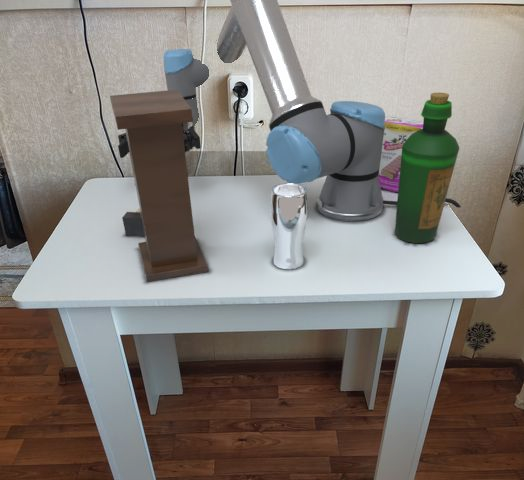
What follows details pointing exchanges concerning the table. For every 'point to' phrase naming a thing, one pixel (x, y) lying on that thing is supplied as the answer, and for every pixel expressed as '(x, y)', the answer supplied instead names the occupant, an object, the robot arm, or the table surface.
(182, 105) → the wooden pedestal stand
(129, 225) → the long wooden bar
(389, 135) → the candy bar box
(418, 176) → the bottle
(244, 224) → the table surface
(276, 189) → the beer glass
